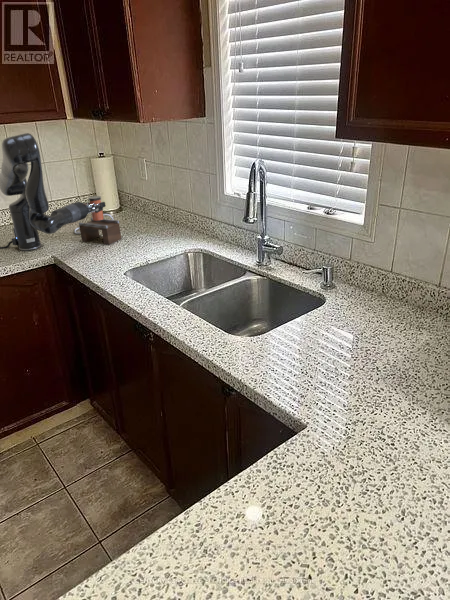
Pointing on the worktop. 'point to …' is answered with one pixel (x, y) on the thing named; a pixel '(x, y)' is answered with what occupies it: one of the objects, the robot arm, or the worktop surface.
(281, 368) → the worktop surface
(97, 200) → the spice jar
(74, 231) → the hook
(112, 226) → the rail rack
